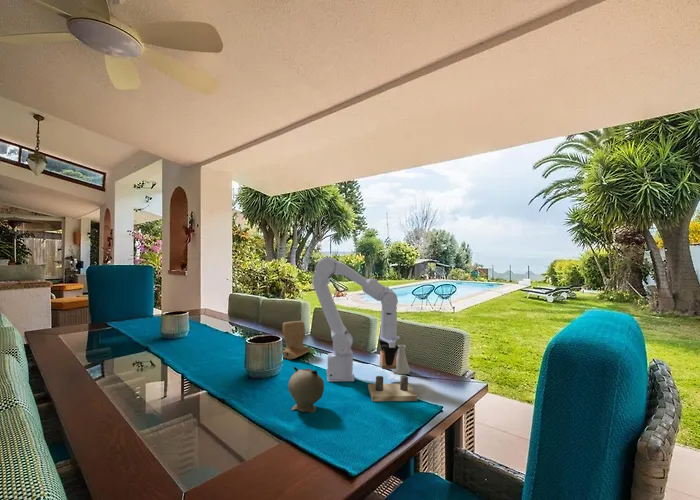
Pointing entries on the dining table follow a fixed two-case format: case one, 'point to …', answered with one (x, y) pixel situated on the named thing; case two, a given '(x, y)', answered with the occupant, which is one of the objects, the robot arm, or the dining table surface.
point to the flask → (401, 361)
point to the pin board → (392, 390)
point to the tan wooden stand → (294, 339)
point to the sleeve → (383, 362)
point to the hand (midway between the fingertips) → (387, 362)
